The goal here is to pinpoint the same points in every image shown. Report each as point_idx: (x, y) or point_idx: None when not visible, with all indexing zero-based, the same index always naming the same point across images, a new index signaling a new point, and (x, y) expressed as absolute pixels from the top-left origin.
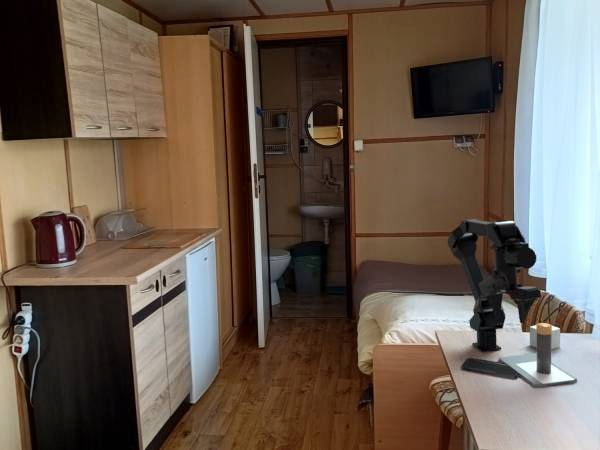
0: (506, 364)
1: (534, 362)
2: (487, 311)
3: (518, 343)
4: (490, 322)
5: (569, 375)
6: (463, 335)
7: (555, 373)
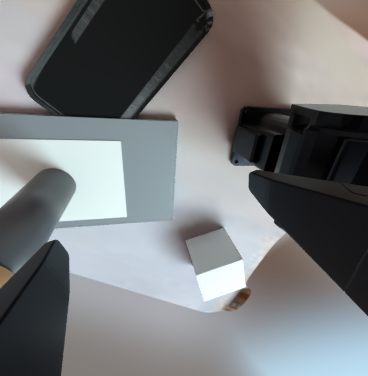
0: (130, 118)
1: (118, 191)
2: (340, 162)
3: (241, 212)
4: (283, 155)
5: None
6: None
7: None
